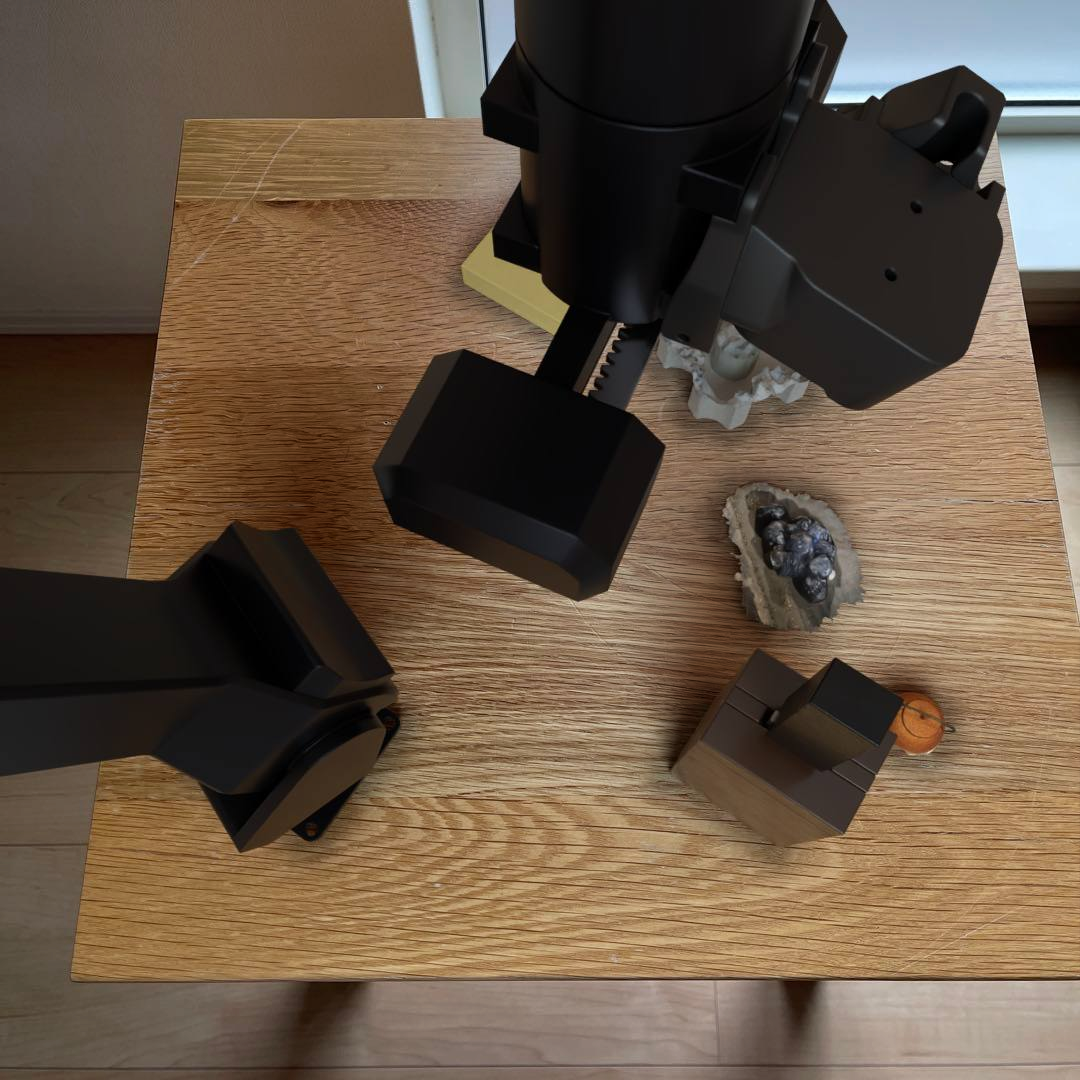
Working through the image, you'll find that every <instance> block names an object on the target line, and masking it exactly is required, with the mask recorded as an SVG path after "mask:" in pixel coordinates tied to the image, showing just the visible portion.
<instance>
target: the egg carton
mask: <svg viewBox="0 0 1080 1080" xmlns="http://www.w3.org/2000/svg"><path fill="white" fill-rule="evenodd" d="M655 354H656V356H657V358H658V359H659V361H660V362H661V365H662V367H663V368H664V369H669V368H679V369H682V370H684V371H685V372H687V373H690V374H691V376H692V382H693V385H692V387H691V391H690V394H689V398H688V401H687V407H688V409H689V410H690V412H691V414H692V416H693V417H694V419H696V420H699V419H708V420H714V421H716V422H718V423H720V424H721V425H722V426H723V427H724V428H725V429H726V431H731V430H733V429H735V428H738V427H740V426H741V425H743V424H744V423H746V421H747V418H748V416H749V413H750V411H751V407H752V404H753V403H758V402H761V401H764V400H766V399H768V398H769V397H770V396H771V395H772V396H774V397H776V398H778V399H780V400H781V401H782V402H783V403H784V404H785V405H787V404H790V403H793V402H796V401H797V400H800V399H802V398H803V396H804V395H805V393H806V390H807V389H808V387H809V384H810V382H811V381H810V380H808V379H807V378H805V377H803V376H802V375H800V374H799V373H797V372H795V371H794V370H792V369H791V368H789V367H787V366H786V365H784V364H783V363H781V362H779V361H778V360H776V359H775V358H773V357H771V356H770V355H768V354H767V353H765V352H763V351H762V350H760V349H759V348H757V347H755V346H754V345H752V344H751V343H749V342H748V341H747V340H745V339H744V338H743V337H742V336H741V335H740V334H739V333H738V331H737V330H736V328H735V327H734V325H733V324H732V323H729V322H726V321H724V320H723V322H722V325H721V328H720V330H719V332H718V334H717V337H716V339H715V341H714V343H713V346H712V348H711V350H710V352H709V354H708V353H705V352H702V351H700V350H697V349H694V348H692V347H689V346H686V345H684V344H681V343H678V342H676V341H673V340H670V339H667V338H665V337H664V336H663V335H662V334H661V336H660V338H659V340H658V343H657V349H656V351H655Z"/></svg>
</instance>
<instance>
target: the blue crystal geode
mask: <svg viewBox="0 0 1080 1080" xmlns="http://www.w3.org/2000/svg"><path fill="white" fill-rule="evenodd" d="M724 506H725V507H723V509H722V510H721V511H722V515H721V517H725V518H726V519H727V521H726V522H725V523H726V525H729V526H728V532H727V533H728V534H729V535H728V536H727V538H729V539H730V541H731V542H732V543H733V544H735V545H736V546H737V547H738V549H739V550H740V553H741V554H740V555H739V554H736V553H733V552H729V554H730V555H733V556H734V557H735V559H736V560H737V559H739V562H737V564H738V565H741V566H740V571H741V573H740V572H739V571H737V572H736V573H735V575H734V580H736V581H737V582H740V581H742V582H741V583H742V587H741V590H742V592H741V595H742V600H741V606H743V607H745V610H746V611H745V613H746V614H745V615H746V616H748V617H750V616H751V617H752V620H754V621H755V620H756V622H757V623H759V624H760V625H763V626H765V625H766V626H770V627H772V628H775V629H777V630H779V629H780V630H783V629H784V630H789V631H792V629H793V628H794V627H795V624H797V626H798V629H799V630H800V631H801V632H803V633H805V632H806V633H809V634H812V633H813V632H815V630H819V629H820V628H821V627H822V623H823V620H824V618H826V619H828V620H830V622H834V618H835V617H837V616H838V615H840V613H839V612H838V610H839V609H840V608H841V607H840V605H841V604H846V603H847V604H848V605H853V606H856V605H857V602H858V603H859V602H861V603H862V604H864V603H865V601H864V596H863V595H862V594H864V595H866V596H867V590H866V589H865V588H863V587H862V586H861V582H862V581H863V576H862V575H863V574H862V573H863V572H862V567H861V566H862V562H861V561H860V558H859V557H858V556H859V552H858V550H855V549H854V548H852V547H853V546H852V543H851V542H853V541H854V539H853V538H851V537H850V536H849V534H846V533H847V532H848V529H846V528H847V525H846V524H845V523H844V522H843V520H842V519H841V517H839V516H838V514H837V513H835V512H834V510H833V509H831V508H830V507H829V504H828V502H827V501H824V500H822V499H813V498H811V496H810V495H809V494H808V493H807V492H804V493H803V494H802V493H801V494H800V493H799V492H798V493H797V495H796V496H795V495H794V493H792V492H790V490H789V489H788V488H786V489H785V490H782V489H781V488H780V487H777V486H772V485H770V484H769V483H768V482H761V481H760V482H759V481H757V482H751V483H747V484H745V485H742V486H741V487H738V486H737V487H736V490H735V494H733V495H729V496H728V497H727V498H726V504H724Z"/></svg>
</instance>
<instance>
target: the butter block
mask: <svg viewBox="0 0 1080 1080" xmlns="http://www.w3.org/2000/svg"><path fill="white" fill-rule="evenodd" d="M493 228H494V226H493V227H492V228H491V229H490V230H489V231H488V233H487V234H486V235H485V236H484V237H483V238H482V239H481V241H480V242H479V243H478V245H476V247H475V248H474V249H473V251H472V252H470V254H469V255H468V256H467V257H466V259H465V260H464V261H463V262H462V264H461V265H460V266H461V274H462V281H463V284H464V285H466V286H468V287H469V288H471V289H473V290H474V291H477V293H479V294H481V295H483V296H485V297H487V298H489V299H490V300H492V301H494V302H495V303H497V304H499V305H500V306H502V307H504V308H506V309H507V310H509V311H511V312H512V313H514V314H516V315H518V316H520V317H522V318H523V319H524V320H526V321H528V322H530V323H531V324H533V325H535V326H537V327H538V328H540V329H542V330H544V331H546V332H547V333H549V334H550V335H553V336H554V335H555V333H556V331H557V330H558V328H559V326H560V324H561V322H562V320H563V318H564V316H565V314H566V312H567V310H568V308H569V305H567V304H565V303H564V302H563V301H561V300H560V299H558V298H557V297H556V296H555V295H554V294H553V293H551V292H550V291H549V290H548V289H547V288H546V287H545V285H544V284H543V283H542V279H541V274H539V273H536V272H534V271H531V270H528V269H526V268H523V267H520V266H517V265H515V264H512V263H509V262H506V261H504V260H501V259H498V258H496V257H494V252H493V241H492V229H493Z"/></svg>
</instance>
